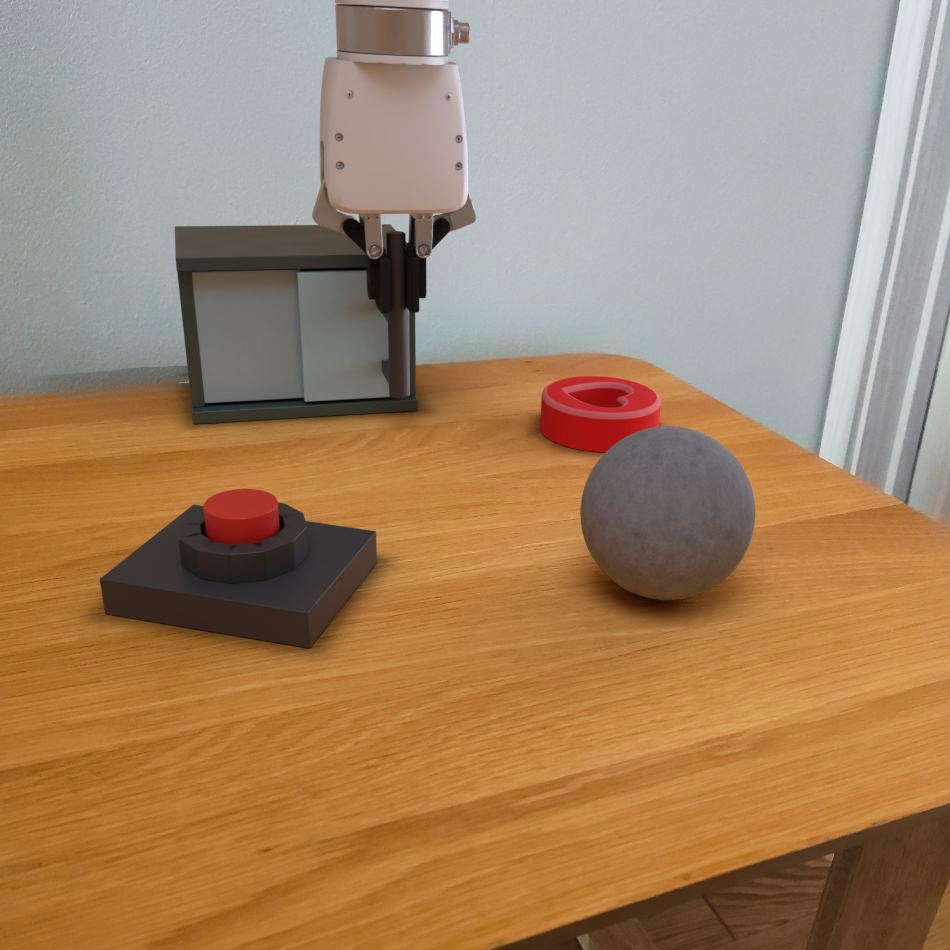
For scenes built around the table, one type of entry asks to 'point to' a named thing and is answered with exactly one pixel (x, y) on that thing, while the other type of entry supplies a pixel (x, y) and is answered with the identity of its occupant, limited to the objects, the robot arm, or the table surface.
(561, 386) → the decorative ornament
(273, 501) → the button
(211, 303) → the cabinet
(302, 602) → the button box
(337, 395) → the glass door
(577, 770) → the table surface
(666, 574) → the decorative ball
